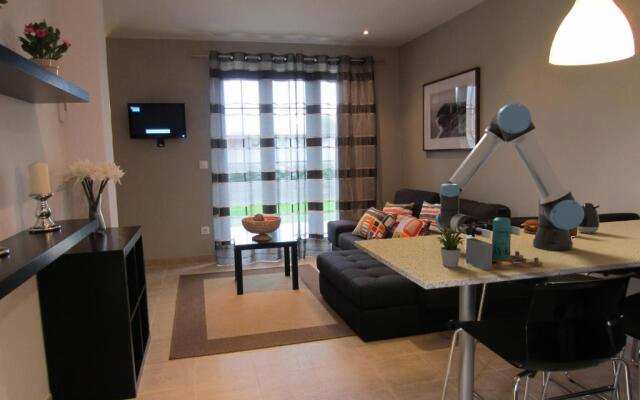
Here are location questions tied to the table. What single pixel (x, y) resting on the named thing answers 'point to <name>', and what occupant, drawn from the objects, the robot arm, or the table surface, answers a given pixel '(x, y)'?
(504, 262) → the band marker
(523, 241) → the table surface
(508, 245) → the beverage bottle
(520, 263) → the wooden peg rack
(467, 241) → the end block
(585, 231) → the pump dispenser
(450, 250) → the house plant
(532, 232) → the hamburger
